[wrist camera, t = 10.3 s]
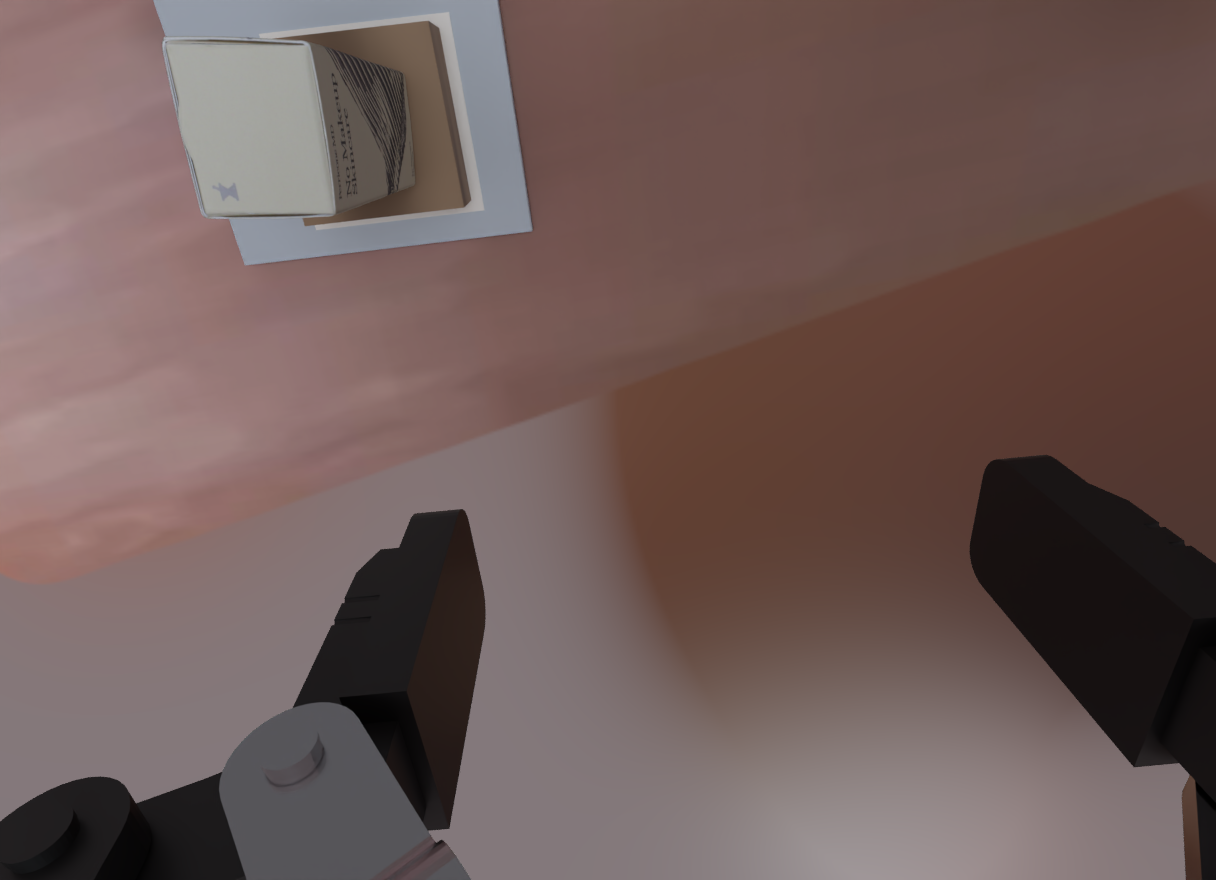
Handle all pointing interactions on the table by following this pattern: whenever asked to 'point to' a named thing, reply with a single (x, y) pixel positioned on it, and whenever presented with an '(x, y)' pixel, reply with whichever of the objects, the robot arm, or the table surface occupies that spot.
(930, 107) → the table surface
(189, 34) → the board
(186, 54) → the box
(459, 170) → the base block
